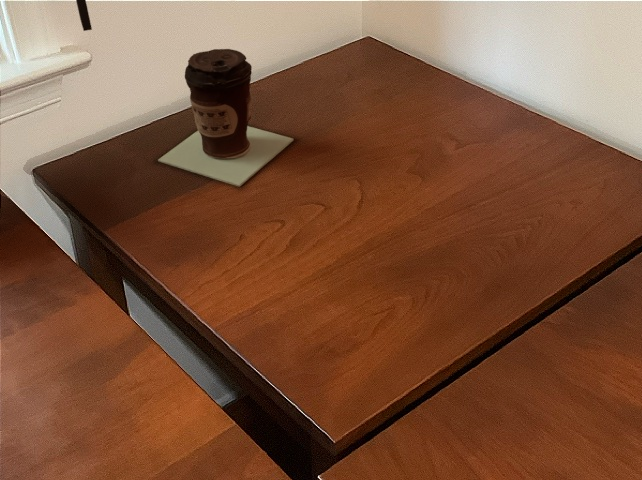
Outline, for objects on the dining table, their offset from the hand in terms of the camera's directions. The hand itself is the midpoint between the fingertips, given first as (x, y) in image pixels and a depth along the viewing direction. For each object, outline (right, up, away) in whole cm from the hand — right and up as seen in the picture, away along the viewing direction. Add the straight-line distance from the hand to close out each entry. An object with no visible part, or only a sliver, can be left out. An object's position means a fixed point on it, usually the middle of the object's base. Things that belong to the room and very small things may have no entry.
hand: (10, 36), depth 75 cm
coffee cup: (+14, -6, +35) cm, 39 cm away
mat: (+14, -6, +35) cm, 39 cm away
